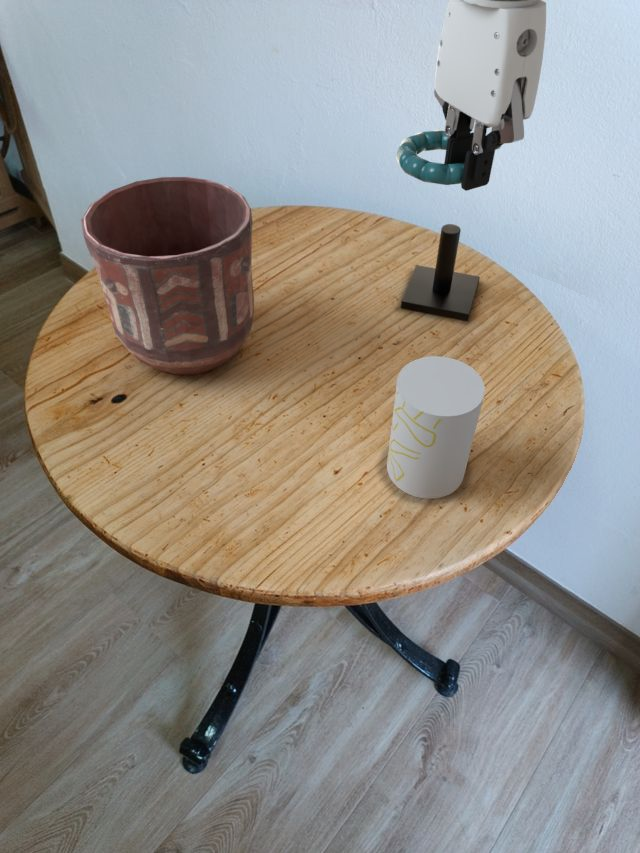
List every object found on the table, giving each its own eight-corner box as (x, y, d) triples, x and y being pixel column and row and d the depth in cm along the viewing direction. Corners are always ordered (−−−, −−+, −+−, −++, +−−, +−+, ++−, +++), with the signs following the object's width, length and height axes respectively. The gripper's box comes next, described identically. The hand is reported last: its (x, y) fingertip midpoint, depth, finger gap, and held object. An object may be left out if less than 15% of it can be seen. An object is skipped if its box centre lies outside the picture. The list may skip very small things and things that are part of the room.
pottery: (200, 285, 95) (181, 159, 82) (288, 343, 87) (283, 212, 73) (89, 344, 86) (48, 213, 73) (175, 415, 78) (147, 281, 65)
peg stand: (478, 283, 96) (492, 217, 88) (467, 321, 90) (481, 253, 82) (415, 271, 98) (423, 205, 90) (400, 308, 92) (408, 241, 84)
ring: (495, 152, 77) (498, 134, 75) (482, 194, 70) (486, 175, 69) (407, 140, 79) (409, 122, 77) (387, 179, 72) (388, 161, 71)
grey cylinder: (375, 449, 74) (383, 366, 66) (443, 432, 76) (460, 349, 68) (404, 507, 69) (418, 424, 60) (477, 487, 71) (500, 405, 62)
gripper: (601, -5, 55) (544, 206, 69) (476, -51, 65) (448, 142, 78) (528, 8, 53) (484, 224, 66) (410, -41, 62) (393, 156, 76)
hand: (465, 178), depth 72 cm, fingers closed on ring, 2 cm apart
